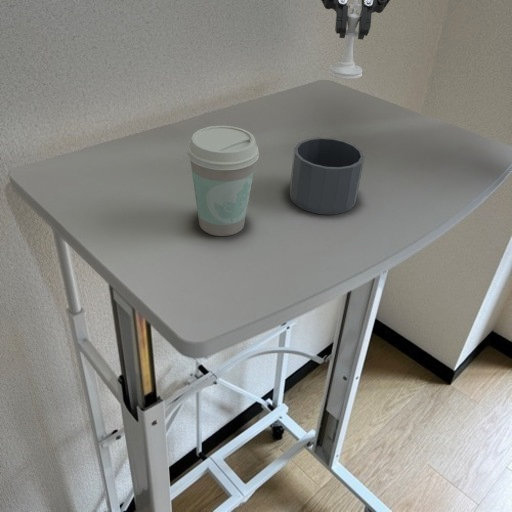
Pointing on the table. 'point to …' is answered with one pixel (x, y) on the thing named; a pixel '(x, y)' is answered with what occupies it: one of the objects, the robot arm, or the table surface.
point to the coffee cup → (222, 176)
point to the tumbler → (325, 175)
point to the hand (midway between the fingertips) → (352, 35)
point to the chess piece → (348, 49)
